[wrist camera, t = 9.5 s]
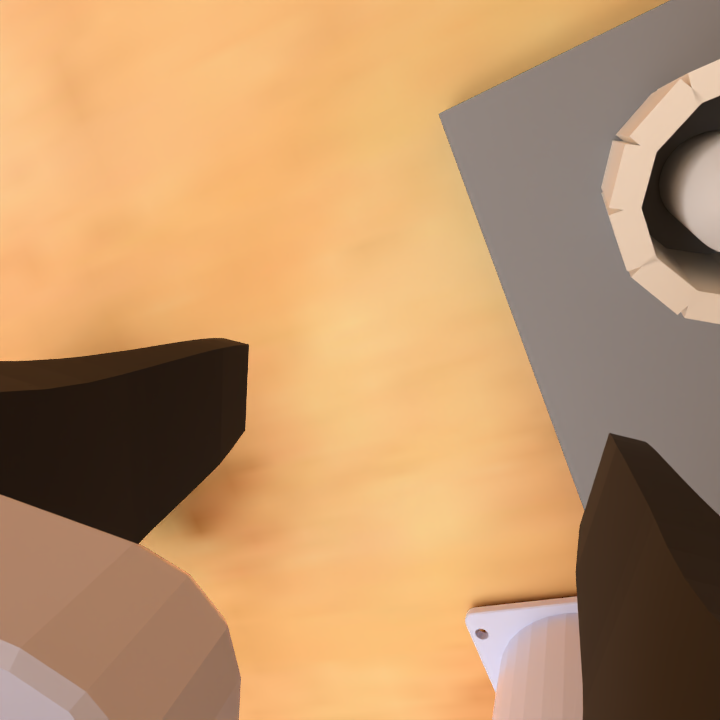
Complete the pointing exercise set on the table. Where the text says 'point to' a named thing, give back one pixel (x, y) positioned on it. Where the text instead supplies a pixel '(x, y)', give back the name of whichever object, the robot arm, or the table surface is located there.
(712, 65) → the sleeve
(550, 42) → the table surface
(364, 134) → the table surface
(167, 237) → the table surface
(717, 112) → the duct board
